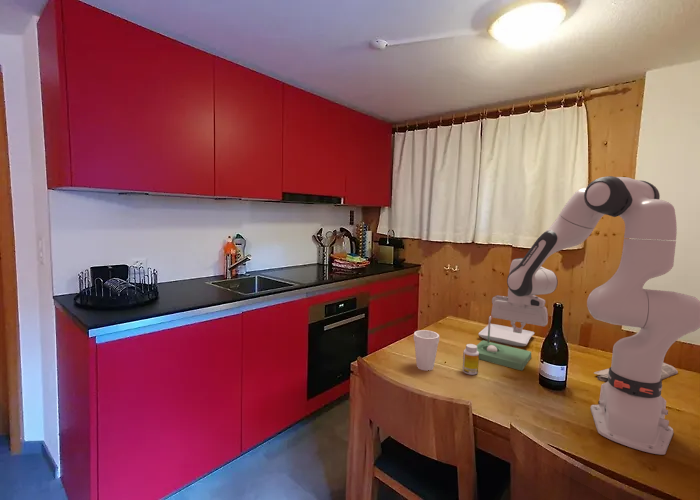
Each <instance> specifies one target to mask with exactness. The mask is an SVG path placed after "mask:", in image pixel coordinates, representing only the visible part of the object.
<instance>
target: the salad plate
mask: <svg viewBox="0 0 700 500" xmlns="http://www.w3.org/2000/svg"><path fill="white" fill-rule="evenodd" d="M534 335H535V332H534V331H531V330H526V329H522V333H516V332H513V327H512V326H507V325H501V324H495V323H491V324H490V339H489V342H494V341H495V342H494V343H498V344H502V345H507V346H513V347H526V346H527V345H528V343H529V342H530V341H531V338H532V337H533V336H534ZM478 336H479V337H480V338H482V339H483V340H484V339H485V340H486V341H487V340H488V324H487V325H486V326H485V327H484V328H483V329H482V330H481V331H479V332H478Z"/></svg>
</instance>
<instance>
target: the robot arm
mask: <svg viewBox="0 0 700 500" xmlns="http://www.w3.org/2000/svg"><path fill="white" fill-rule="evenodd" d="M660 196H661V195H660V191H659V189H658V188H657V187H656V186H655V185H653V184H652V183H650V182H649V181H646V180H639V179H634V178H631V177H624V176H612V175H611V176H610V175H609V176H601V177H599V178H596V179H594V180H592V181H591V182H590V183H588V185H587V187H581V188H579V189H578V190H576V191H575V192H574V193H573V195H571V197H570V198H569V199H568V201H567V202H566V203H565V205H564V207H563V208H562V209H561V211H560V213H559V214H558V216H557V218H556V219H555V221H554V222H553V223H552V224H551V225H550V227H549V228H547V229H546V230H545V231H544V232H543V233H541V235H540V236H538V238H537V239H536V241H535V242H534V243H533V245H532V246H531V247H530V248H529V250H528V252H526V254H525V255H524V257H518V258H514V259H512V261H511V264H510V267H509V272H508V273H509V274H508V275H507V278H506V284H507V287H508V288H507V295H506V296H504V295H498V294H497V295H495V296H493V297H492V298H491V303H492V307H491V315H492V319H500V320H506V321H510V325H511V327H513V332H516V333H522V329H523V328H524V327H525V326H526V324H527V325H528V324H529V325H534V326H541V327H546V326H547V325H548V322H549V314H548V308H547V307H546V306H545V304H546V300H545V299H544V298H541V297H539V296H540V295H550V294H552V293H553V292H555V291H556V290H557V288H558V277H557V275H556V273H555V272H554V271H553V270H552V269H547V268H545V267H543V266H542V265H544V264H545V262H546V260H547V259H548V258H549V257H550V256H552V255H553V254H555V253H557V252H559V251H562V250H565V249H569V248H573V247H575V246H579V245H581V244H583V242H585V241H586V240H588V238H589V237H590V236H591V234H592V232H593V231H594V230H595V228H596V226H597V225H598V224H599V222H600V220H601V219H602V218H603V216H605V215H606V216H609V217H613V218H616V217H620V218H621V219H622V220H623V222H624V236H623V243H622V244H623V245H622V252H621V258H620V263H619V265H618V268H617V270H616V272H615V273H614V274H613V275H612V276H611V278H609V279H608V280H607V281H606V282H604V283H603V284H601V285H600V286H596V287H595V288H594V289H593V290H591V292H590V293H589V295H588V297H587V300H586V307H587V310H588V312H589V314H590V315H591V316H592V317H593V319H594V320H597V321H600V322H603V323H608V324H610V325H617V326H624V327H632V328H640V329H639V330H638V332H637V333H635V334H633V335H630V336H627V337H623V338H620V339H619V340H617V341H616V342H615V343H614V344H613V347H612V357H611V366H610V367H609V368H608V369H609V372H608V381H605V382H603V383H601V384H600V385H601V386H600V394H599V400H598V402H597V404H591V405H590V411H591V415H592V417H593V422H594V424H595V427H596V430H597V433H598V434H600V435H601V436H603V437H604V438H607V439H609V440H610V441H612V442H615V443H618V444H621V445H623V446H627V447H629V448H632V449H635V450H637V451H638V450H639V451H642V452H646V453H649V454H655V455H666V453H667V450H668V448H669V444H670V443H671V440H672V438H673V436H674V429H673V427H671V426H670V420H669V419H665V417H666V416H668V415H669V410H668V409H666V407H667V400H666V399H665V398H664V397H662V396H663V395H661V394H662V390H663V379H662V380H661V379H660V378H661V371H662V365H663V363H664V360H665V357H666V354H667V352H668V351H669V349H670V348H671V346H672V345H673V344H674V343H675V342H677V341H678V340H679V339H680V338H683V336H686V335H687V334H690V333H694V332H695V331H697V330H698V329H700V300H699V299H698V298H697V297H695V296H692V295H688V294H684V293H680V292H678V291H677V292H676V291H669V290H657V289H649V288H644V285H645V283H646V282H647V281H649V280H651V279H653V278H657V277H661V276H664V275H665V274H668V273H669V272H670V271H671V270H672V269H673V267H674V263H675V255H676V243H677V234H678V233H677V232H678V231H677V229H678V228H677V226H678V225H677V216H676V210H675V206H674V205H673V204H672V203H671V202H669V201H666V200H662V199H660V198H661V197H660ZM538 295H539V296H538ZM491 315H490V316H491ZM516 322H518V323H520V325H521V327H517V325H516ZM523 330H524V329H523Z"/></svg>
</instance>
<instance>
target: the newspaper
mask: <svg viewBox="0 0 700 500" xmlns="http://www.w3.org/2000/svg"><path fill="white" fill-rule="evenodd" d="M608 372H609V368H606V369H602V370H598V371H595V372H593V374H595V375H598V376H597V380H598V381H602V382H607V381H608ZM678 372H679V371H678V370H677V368H676V367H674V366H673V365H671V364H668V363H666V362H663V365H662V371H661V378H660V379H661V380H662V381H663V380H665V379H666V378H669V377H672V376H674V375H677V374H678Z"/></svg>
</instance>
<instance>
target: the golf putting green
mask: <svg viewBox="0 0 700 500" xmlns="http://www.w3.org/2000/svg"><path fill="white" fill-rule="evenodd" d="M475 345H476V346H477V351H478V352H479V361H480V360H481V361H485V362H488V363H493V364H496V365H500V366H503V367H507V368H511V369H515V370H518V371H523V370H524V369H525V367H526V366H527V364H528V363H529V361H530V360H531V358H532V351H530V350H526V349H521V348H517V347H514V346H513V347H512V346H510V345H506V344H502V343H497V342H493V341H489V343H487V340H484V339H483V340H481V341H480V342H479V343H477V344H475ZM489 345H494V346H495V347H496V348H497V352H490V351H487V347H488V346H489Z"/></svg>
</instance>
